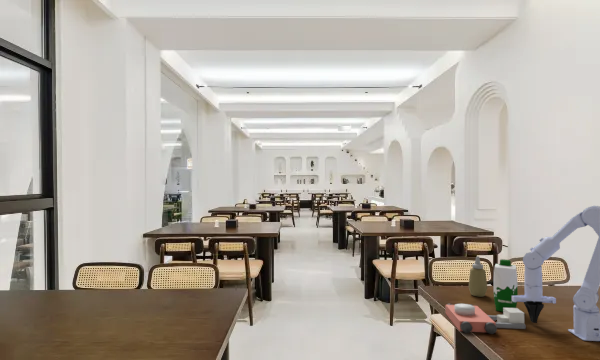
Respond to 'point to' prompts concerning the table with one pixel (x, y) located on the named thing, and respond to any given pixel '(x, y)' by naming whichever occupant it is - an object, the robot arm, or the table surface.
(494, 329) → the forklift
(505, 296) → the milk carton
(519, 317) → the white block
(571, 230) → the robot arm
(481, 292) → the squeeze bottle
